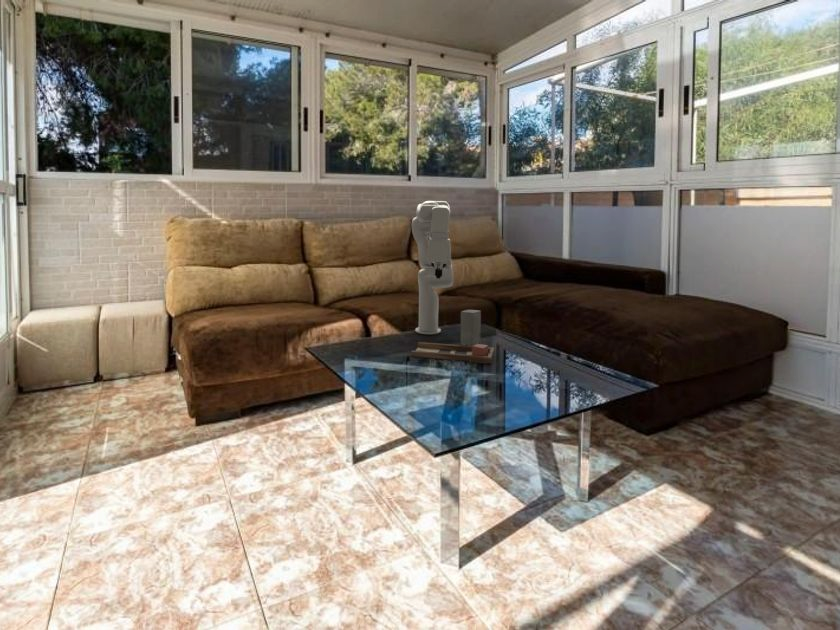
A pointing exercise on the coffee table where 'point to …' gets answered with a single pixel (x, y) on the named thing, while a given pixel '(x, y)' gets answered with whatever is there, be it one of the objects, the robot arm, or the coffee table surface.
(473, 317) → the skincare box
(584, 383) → the coffee table surface
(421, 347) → the trap box
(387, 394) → the coffee table surface
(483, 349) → the oxblood block
